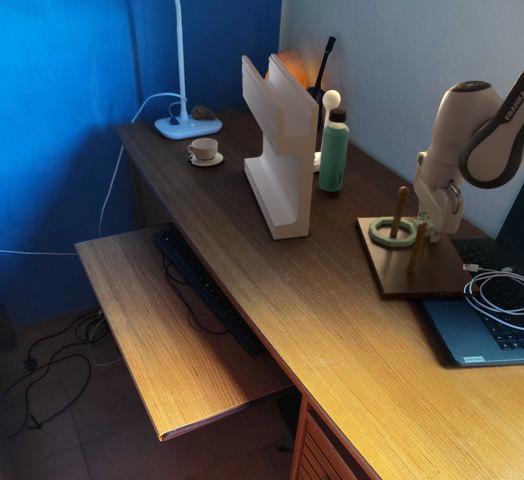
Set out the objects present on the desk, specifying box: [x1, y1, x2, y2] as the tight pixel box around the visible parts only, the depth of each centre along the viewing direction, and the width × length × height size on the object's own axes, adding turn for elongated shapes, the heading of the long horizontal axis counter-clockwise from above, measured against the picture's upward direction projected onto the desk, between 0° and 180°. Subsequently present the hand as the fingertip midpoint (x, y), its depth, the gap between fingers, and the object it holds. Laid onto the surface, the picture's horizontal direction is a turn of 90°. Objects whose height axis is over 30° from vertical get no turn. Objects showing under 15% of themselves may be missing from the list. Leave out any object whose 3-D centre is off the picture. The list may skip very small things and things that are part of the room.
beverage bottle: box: [317, 107, 350, 193], centre depth 114 cm, size 6×7×20 cm
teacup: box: [187, 137, 224, 167], centre depth 132 cm, size 10×10×5 cm
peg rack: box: [356, 186, 481, 300], centre depth 97 cm, size 19×28×13 cm
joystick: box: [313, 89, 341, 173], centre depth 123 cm, size 11×8×20 cm
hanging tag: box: [369, 216, 434, 247], centre depth 104 cm, size 15×10×2 cm
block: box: [241, 53, 320, 240], centre depth 108 cm, size 35×8×28 cm, turn 13°
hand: (427, 229), depth 105 cm, fingers open, 7 cm apart
